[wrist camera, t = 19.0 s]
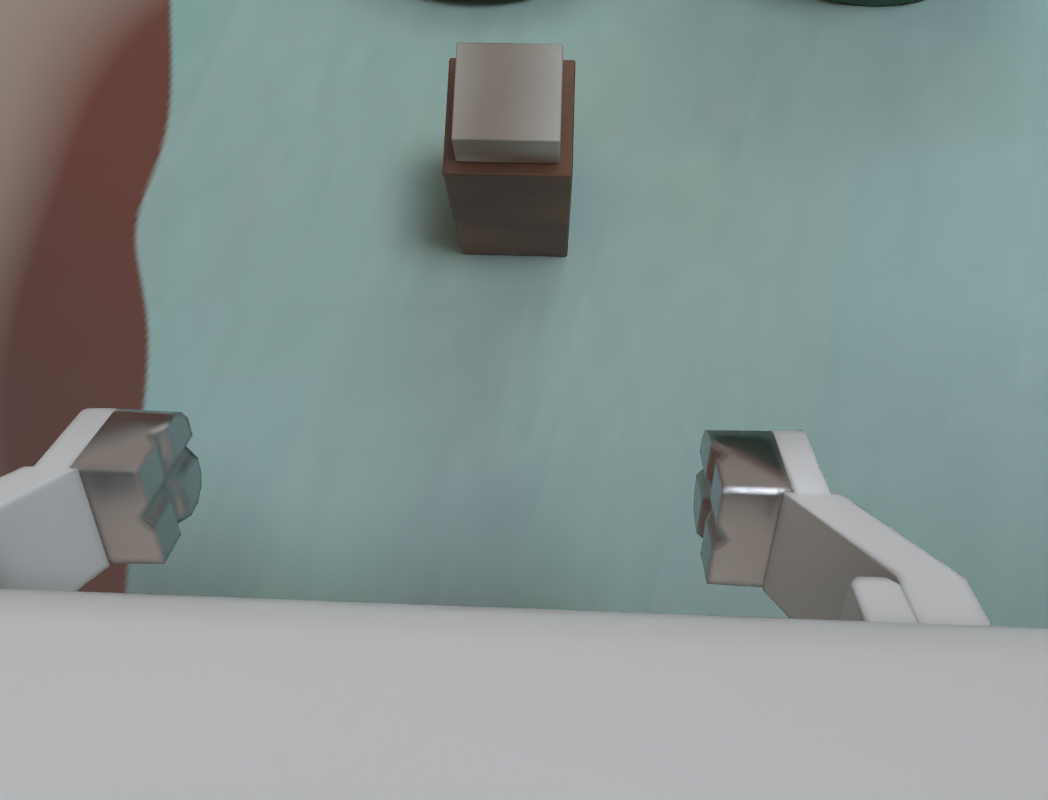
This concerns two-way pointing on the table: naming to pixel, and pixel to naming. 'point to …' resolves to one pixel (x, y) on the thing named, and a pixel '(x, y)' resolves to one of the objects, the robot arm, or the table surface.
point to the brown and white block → (510, 147)
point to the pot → (875, 2)
